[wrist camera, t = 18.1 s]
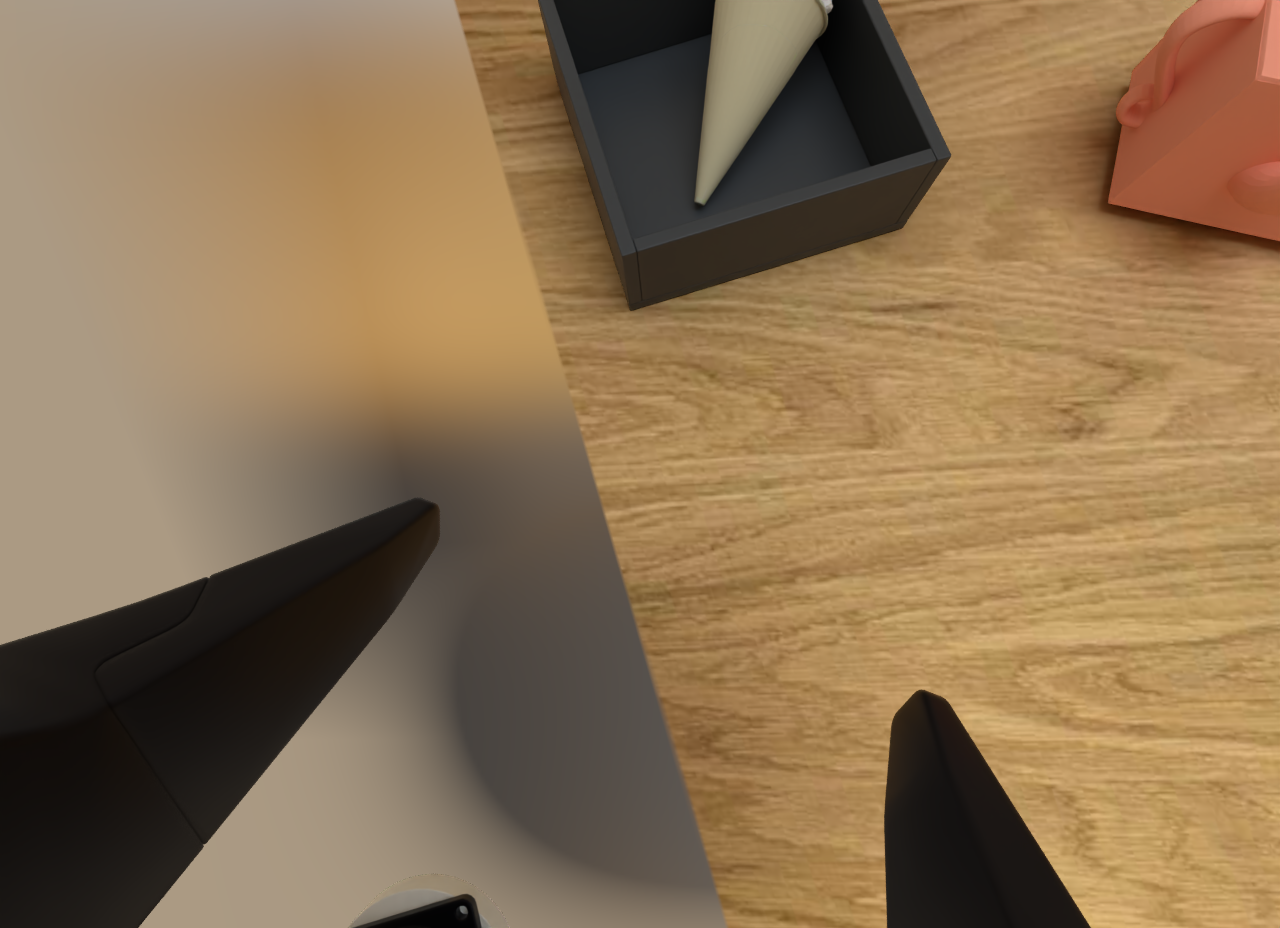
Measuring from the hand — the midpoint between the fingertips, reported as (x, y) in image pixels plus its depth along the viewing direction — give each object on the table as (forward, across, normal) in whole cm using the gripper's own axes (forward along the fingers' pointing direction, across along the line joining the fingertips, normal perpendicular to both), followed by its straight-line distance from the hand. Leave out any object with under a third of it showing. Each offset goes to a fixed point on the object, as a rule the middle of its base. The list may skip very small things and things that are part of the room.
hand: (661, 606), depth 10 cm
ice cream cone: (+20, +4, -3) cm, 21 cm away
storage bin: (+24, +4, -5) cm, 25 cm away
